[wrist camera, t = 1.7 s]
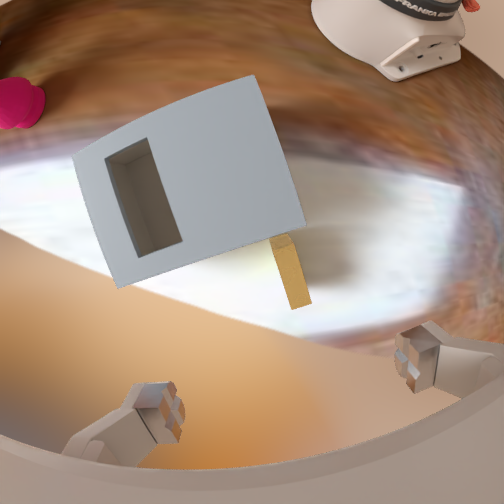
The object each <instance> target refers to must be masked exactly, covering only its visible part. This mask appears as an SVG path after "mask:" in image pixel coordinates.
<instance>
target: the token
mask: <svg viewBox="0 0 504 504" xmlns="http://www.w3.org/2000/svg"><path fill="white" fill-rule="evenodd" d="M269 240H270V244H271V247H272V251H273V254H274V257H275V260H276V263H277V266H278V269H279V272H280V275H281V278H282V282H283V285H284V288H285V291H286V294H287V297H288V300H289V303H290V306H291V310H293V309H297V308H300V307H303V306H306V305H309V304H312V302H311V299H310V295H309V292H308V288H307V285H306V282H305V278H304V275H303V271H302V268H301V265H300V261H299V258H298V255H297V252H296V248H295V245H294V243H293V242H292V240H291V239H290V237H289V236H288V234H287V233H285V234H282V235H279V236H276V237H273V238H270V239H269Z"/></svg>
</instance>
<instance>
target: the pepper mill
mask: <svg viewBox="0 0 504 504" xmlns="http://www.w3.org/2000/svg"><path fill="white" fill-rule="evenodd" d="M44 106H45V93H44V91H43V89H41V88H40V87H37V86H34V85H31V83H30V82H29V81H28V80H27V79H25V78H22V77H10V78H6V79H2V80H0V128H3V129H11V128H13V127H15V126H16V127H19V128H29V127H31V126H32V125H34V124H35V123H36V122H37V120H38V119H39V118H40V116H41V114H42V112H43V109H44Z"/></svg>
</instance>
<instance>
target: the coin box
mask: <svg viewBox="0 0 504 504" xmlns="http://www.w3.org/2000/svg"><path fill="white" fill-rule="evenodd" d="M72 159H73V163H74V167H75V170H76V174H77V178H78V181H79V185H80V188H81V192H82V195H83V198H84V201H85V205H86V208H87V211H88V214H89V217H90V220H91V223H92V225H93V228H94V231H95V234H96V237H97V239H98V242H99V245H100V247H101V250H102V252H103V255H104V258H105V260H106V263H107V265H108V267H109V270H110V272H111V275H112V277H113V279H114V282H115V284H116V286H117V288H121V287H124V286H127V285H130V284H133V283H136V282H139V281H142V280H145V279H148V278H151V277H154V276H156V275H159V274H162V273H165V272H168V271H171V270H174V269H177V268H180V267H183V266H186V265H189V264H192V263H195V262H198V261H201V260H204V259H207V258H210V257H213V256H216V255H219V254H222V253H225V252H228V251H231V250H234V249H237V248H240V247H243V246H246V245H249V244H252V243H255V242H258V241H261V240H264V239H267V238H270V237H273V236H276V235H279V234H282V233H285V232H288V231H291V230H294V229H297V228H300V227H303V226H306V225H307V224H306V221H305V217H304V214H303V211H302V208H301V204H300V201H299V198H298V195H297V192H296V189H295V186H294V183H293V180H292V177H291V174H290V171H289V168H288V165H287V162H286V159H285V156H284V153H283V150H282V148H281V145H280V142H279V139H278V136H277V134H276V131H275V128H274V125H273V123H272V120H271V117H270V115H269V112H268V109H267V107H266V104H265V102H264V99H263V96H262V94H261V91H260V89H259V86H258V84H257V81H256V79H255V76H254V75H251V76H247V77H244V78H240V79H237V80H234V81H231V82H228V83H225V84H222V85H219V86H216V87H213V88H210V89H207V90H205V91H202V92H199V93H197V94H194V95H191V96H189V97H186V98H184V99H181V100H179V101H176V102H174V103H172V104H169V105H167V106H165V107H162V108H160V109H158V110H156V111H153V112H151V113H149V114H147V115H145V116H143V117H141V118H139V119H137V120H134V121H132V122H130V123H128V124H127V125H125V126H123V127H121V128H119V129H117V130H115V131H113V132H111V133H109V134H108V135H106V136H104V137H102V138H101V139H99V140H97V141H95V142H94V143H92V144H90V145H88V146H87V147H85V148H83V149H82V150H80V151H79V152H77V153H75V154H74V155H72Z"/></svg>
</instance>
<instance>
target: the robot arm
mask: <svg viewBox="0 0 504 504" xmlns="http://www.w3.org/2000/svg"><path fill="white" fill-rule="evenodd" d="M461 2H462V4H463V6H464V8H465V10H466V11H467V12H475V11H478V9H479V8H480V6H479V4H478V3H477V2H476V1H475V0H312V4H311V10H312V15H313V18H314V20H315V22H316V24H317V26H318V28H319V29H320V30H321V32H322V33H323V34H324V35H325V36H326V37H327V39H328V40H330V41H331V42H332V43H333V44H334V45H335V46H337V47H338V48H339V49H341V50H342V51H344V52H345V53H347V54H349V55H350V56H352V57H354V58H356V59H359V60H361V61H364V62H366V63H368V64H370V65H372V66H374V67H375V68H376V69H377V70H379V71H380V72H381V73H382V74H383V75H384V76H386V77H387V78H388V79H390V80H391V81H394V82H397V81H401V80H403V79H406V78H409V77H412V76H414V75H417V74H420V73H423V72H426V71H429V70H432V69H435V68H438V67H441V66H445V65H448V64H451V63H454V62H457V61H458V60H460V59H461V51H460V46H459V42H458V41H460V40H461V39H463V38H464V36H465V27H464V23H463V20H462V18H461V16H460V14H459V12H458V8H459V6H460V4H461ZM399 68H400V69H401V70H402V71H400V70H399ZM395 345H396V346H397V347H398V349H397V351H396V353H395V366H396V369H397V371H398V373H399V375H400V376H401V377H403V378H407V381H406V384H407V385H408V387H409V388H410V389H411V390H412V392H413V393H414V394H415V393H418V392H420V391H423V390H425V389H427V388H430V387H432V386H434V387H435V388H438V389H440V390H443V391H445V392H447V393H450V394H452V395H455V396H457V397H459V398H462V399H461V400H459V401H458V402H456V403H454V404H452V405H450V406H448V407H446V408H444V409H442V410H441V411H439V412H436V413H434V414H432V415H430V416H428V417H426V418H424V419H422V420H420V421H418V422H415V423H413V424H410V425H408V426H406V427H403V428H401V429H398V430H396V431H393V432H390V433H388V434H385V435H382V436H379V437H377V438H374V439H371V440H368V441H365V442H362V443H358V444H355V445H352V446H348V447H345V448H341V449H338V450H334V451H331V452H326V453H323V454H318V455H314V456H309V457H305V458H300V459H295V460H290V461H284V462H278V463H271V464H265V465H257V466H248V467H238V468H226V469H208V470H207V469H206V470H170V469H149V468H138V467H136V466H137V465H138V464H139V463H140V462H141V461H142V460H143V459H144V458H145V457H146V456H147V455H148V454H149V453H150V452H151V451H152V450H153V449H154V448H155V447H156V446H157V444H170V443H172V444H173V443H179V439H180V436H181V432H182V430H181V428H180V425H181V424H183V423H184V420H185V408H184V405H183V402H182V400H181V399H180V398H179V397H177V396H176V392H177V389H176V387H175V385H174V383H172V382H171V381H168V382H150V383H149V382H148V383H135V384H133V386H132V388H131V389H130V391H129V393H128V395H127V396H126V398H125V400H124V402H123V404H122V405H121V407H120V409H115V410H114V411H112V412H110V413H109V414H107V415H106V416H104V417H102V418H101V419H99V420H98V421H96V422H94V423H93V424H91V425H90V426H88V427H86V428H85V429H83V430H81V431H80V432H78V433H76V434H75V435H73V436H72V437H71V439H70V440H69V442H68V443H67V445H66V447H65V448H64V450H63V452H62V453H61V454H57V453H53V452H49V451H46V450H42V449H39V448H36V447H33V446H30V445H27V444H24V443H20V442H18V441H15V440H13V439H10V438H7V437H5V436H3V435H0V504H504V344H500V343H493V342H486V341H480V340H474V339H467V338H461V337H456V338H453V337H452V336H451V335H449V334H448V333H447V332H446V331H444V330H443V329H442V328H441V327H439V326H438V325H437V324H435V323H434V322H433V321H428V322H426V323H423V324H421V325H419V326H417V327H414V328H412V329H409V330H406V331H404V332H401V333H398V334H396V337H395Z"/></svg>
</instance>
